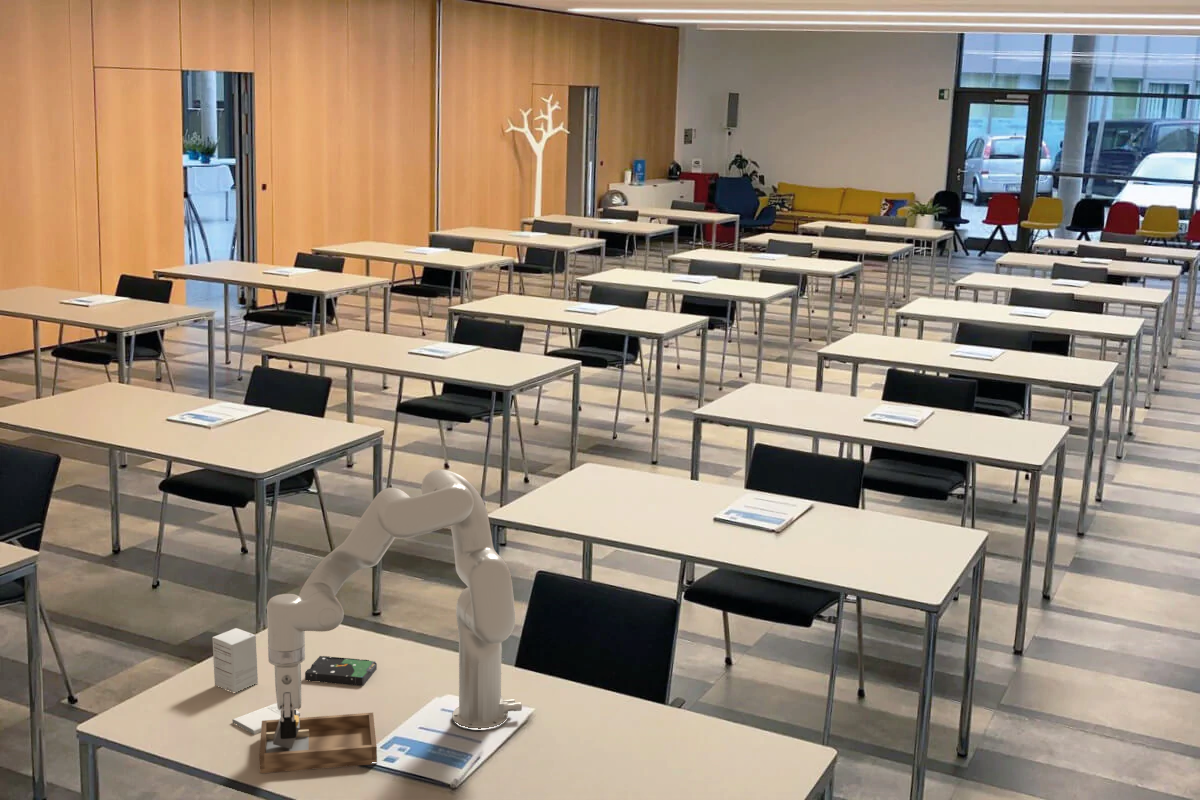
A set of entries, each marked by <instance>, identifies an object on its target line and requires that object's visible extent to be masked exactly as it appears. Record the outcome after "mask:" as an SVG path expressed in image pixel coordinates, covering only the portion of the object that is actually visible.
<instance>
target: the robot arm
mask: <svg viewBox="0 0 1200 800" xmlns="http://www.w3.org/2000/svg"><path fill="white" fill-rule="evenodd" d="M420 489H421V494H419V495H416V496H412V497H411V496H410V495H409V494H407V493H406V492H405V491H403V490H401V489H400V488H398V487H397V488H396V487H387V488H384V489H382V490H381V491H379V492H378V493H377V495H376V496H375V497H374V498H373V499H372V501H371V502H370V504H369V505H368V507H367V508H366V510H365V511H364V512H363V514H362V515H361V517H360V518H359V520H358V522H357V523H356V524H355V525H354V527H353V529H352V530H351V531H350V533H349V534H348V535H347V537H346V538H345V539H344V541H343V542H342V543H341V544H340V545H339V546H337V547H335V548H334V549H333V550H332V551H331V552H329V553H328V554H327V555H325V557H323V559H321V560H320V562H319V563H318V564H317V565H316V567H315V568H314V569H313V571H312V572H311V574H310V575H309V576H308V578H307V579H306V581H305V582H304V584H303V585H302V588H301V589H300V591H299V595H297V594H295V593H282V594H281V593H280V594H276V595H274V596H272V597H271V598H269V600H268V601H267V605H266V611H267V612H266V617H267V647H268V648H267V649H268V651H267V652H268V653H267V654H268V656H267V657H268V663H270V664H271V665H273V666H274V683H275V696H276V703H277V707H278V709H279V710H281V721H280V734H281V739H290V738H296V720H295V718H294V715H296V710H300V709H301V708H302V669H301V668H302V666H301V664H302V663H303V662H304V661H305V659H306V648H305V645H306V641H305V639H306V637H305V636H306V635H305V632H319V633H321V632H330V631H333V630H335V629H336V628H338V627H339V626H340V624H342V622H343V620H344V617H345V615H344V612H345V611H344V609H343V605H342V604H341V602H340V601H339V599H338V598H337V596H336V595H337V594H338V592H339V591H340V590H341V588H342V586H343V585H344V584H345V582H346V581H347V580H348V579H349V578H350V577H351V576H353V574H355V573H357V572H358V571H360V570H363V569H368V568H372V567H376V566H377V565H378V564H379V562H380V561H381V559H382V558H383V557H384V556H385V554H386V552H387V551H388V549H389V547H390V546H391V545H392V544H393V542H394V541H395V539H410V538H414V537H418V536H422V535H426V534H428V533H431V532H435V531H437V530H442V529H444V528H448V527H450V530H451V536H452V545H453V554H454V563H455V564H454V565H455V572H456V574H457V575H458V577H459V578H460V580H461V581H462V582H463V583H464V585H466V588H464V589H463V591H461V592H460V594H459V596H458V599H456V600H457V601H456V606H455V616H456V624H457V633H458V658H459V659H458V700H459V702H458V707H456V708H455V709H454V710H453V712H452V713H451V714H452V715H451V717H452V718H453V720H454V722H456V723H458V724H459V725H461V726H465V727H468V728H478V729H481V728H489V727H494V726H497V725H500V724H501V723H503V722H504V721H505V720H506V719H507V717H509V715H508V714H509V712H521V711H522V710H523V707H522V702H520V701H519V702H515V698H512V699H511V698H510V699H505V698H503V696H502V655H503V653H502V651H503V650H502V647H503V646H502V643H503V642H504V641H506V640H507V639H509V637H510V636H511V634H512V633H513V630H514V628H515V624H516V609H515V598H514V588H513V581H512V576H511V572H510V569H509V566H508V563H506V561H505V560H504V559H503V557H501V556H500V555H499V554H498V553H497V552H496V550H495V547H494V543H493V538H492V531H491V524H490V520H489V515H488V510H487V507H486V504H485V502H484V500H483V498H482V496H481V495H480V492H478V490H477V489H476V488H475V486H474V485H473V484H472V483H471V482H469V480H467V479H466V478H465V477H464V476H462V475H460V474H458V473H457V472H454V471H451V470H448V469H442V468H441V469H434V470H432V471H429V472H428V473H427V474H426V475H425V476H424V478H423V479H422V483H421V487H420ZM294 709H295V710H294ZM453 720H452V721H453ZM507 720H508V719H507ZM454 722H453V723H454Z"/></svg>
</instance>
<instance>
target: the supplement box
mask: <svg viewBox="0 0 1200 800" xmlns="http://www.w3.org/2000/svg"><path fill="white" fill-rule="evenodd" d="M211 640H212V655H213V657H212V659H213V674H214V675H213V677H214V686H215V685H217V686H219V687H222V688H224V689H226V690H229V691H231V692H235V694H237V693H239V692H238V691H240V690H242V689H244V688H246V689H248V688H247V687H249V686H251V687H253V686H255V685H257V684H256V683H258V684H259V679H258V677H259V676H258V674H259V673H258V658H257V657H258V656H257V653H258V652H257V636H256V635H255V634H253V633H252V632H249V631H245V630H243V629H240V628H237V627H235V628H232V629H230V630H227V631H224V632H222V633H219V634H217V635H215V636H212V639H211ZM254 684H255V685H254ZM252 685H253V686H252ZM217 686H216V687H217ZM219 687H218V688H219ZM249 688H250V687H249ZM224 689H223V690H224ZM226 690H225V691H226ZM244 690H245V689H244ZM229 691H228V692H229ZM242 691H243V690H242ZM231 692H230V693H231ZM236 692H237V693H236ZM240 692H241V691H240Z"/></svg>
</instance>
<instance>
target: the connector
mask: <svg viewBox="0 0 1200 800" xmlns="http://www.w3.org/2000/svg"><path fill="white" fill-rule="evenodd" d="M294 718H295V720H296V736H297V733H298V731H299V726H300V720H299V718H300V716H297V715H294ZM280 721H281V718H280V720H279V723H278V725H277V728H276V731H275V733H274V739H273V744H274V745H278V746H282V747H286V748H290V749H292V746H293V744H294V741H295V739H296V738H290V739H281V734H280Z"/></svg>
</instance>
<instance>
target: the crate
mask: <svg viewBox="0 0 1200 800" xmlns="http://www.w3.org/2000/svg"><path fill="white" fill-rule="evenodd" d="M279 720H280V719H278V720H265V721H262V726H261V732H260V738H259V739H260V741H259V753H258V755H259V757H258V758H259V760H258V761H259V774H268V773H269V774H270V773H283V772H295V771H305V770H307V771H308V770H318V769H320V770H321V769H329V768H330V769H331V768H332V769H333V768H342V767H354V766H355V767H356V766H367V765H372V764H371V763H372V762H377V763H378V756H377V755H378V751H377V745H378V744H377V737H376V727H375V718H374V712H364V713H363V712H362V713H349V714H337V715H336V714H334V715H321V716H309V717H307V716H306V717H299V720H300V726H299V731H298V733H297V736H296V739H295V741H294V744H293V746H292V749H290V748H286V747H282V746H278V745H274V744H273V739H274V733H275V731H276V728H277V725H278V723H279Z"/></svg>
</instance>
